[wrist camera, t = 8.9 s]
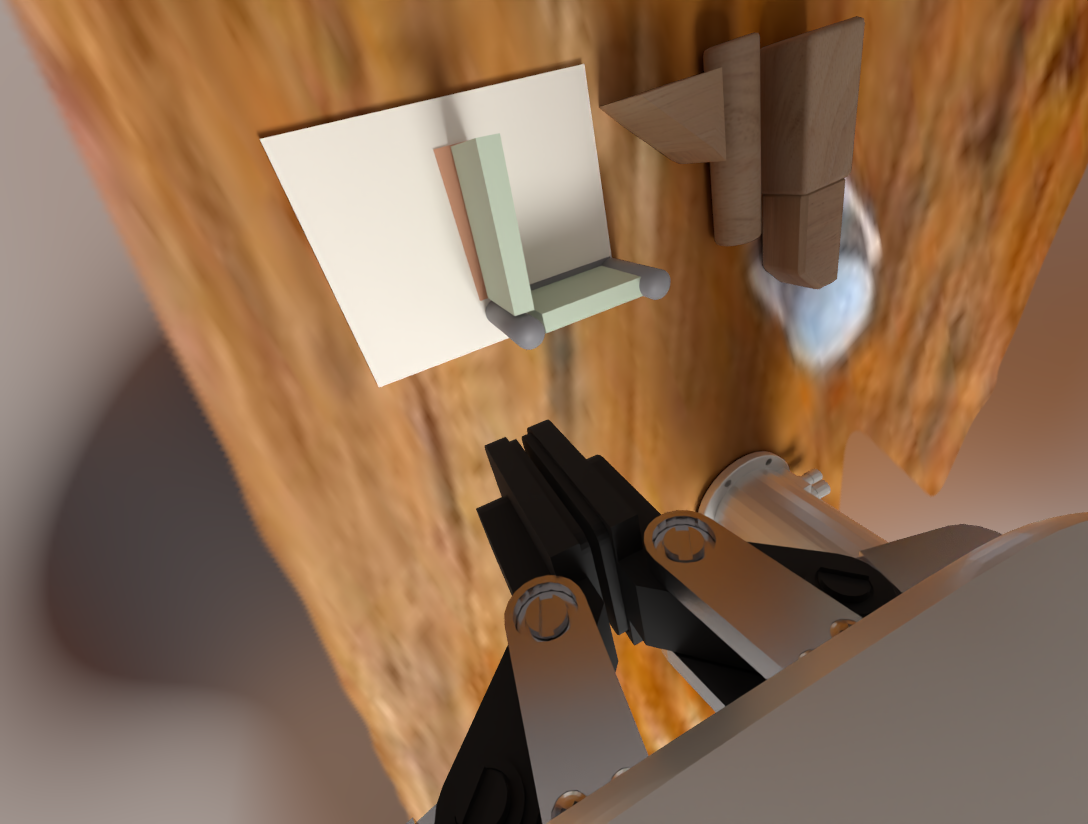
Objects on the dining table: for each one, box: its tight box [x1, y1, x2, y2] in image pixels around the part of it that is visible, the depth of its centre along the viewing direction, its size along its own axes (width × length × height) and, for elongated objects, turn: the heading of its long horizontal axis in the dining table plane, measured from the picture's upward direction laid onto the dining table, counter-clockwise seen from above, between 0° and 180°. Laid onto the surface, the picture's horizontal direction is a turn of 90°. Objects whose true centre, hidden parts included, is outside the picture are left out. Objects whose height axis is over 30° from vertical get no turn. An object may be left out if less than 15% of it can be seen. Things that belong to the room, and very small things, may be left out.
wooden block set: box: [599, 16, 865, 289], centre depth 31 cm, size 17×6×18 cm
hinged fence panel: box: [451, 133, 534, 316], centre depth 25 cm, size 8×1×5 cm, turn 11°
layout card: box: [260, 64, 612, 387], centre depth 27 cm, size 18×14×1 cm
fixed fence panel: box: [486, 258, 670, 349], centre depth 29 cm, size 10×2×6 cm, turn 104°
